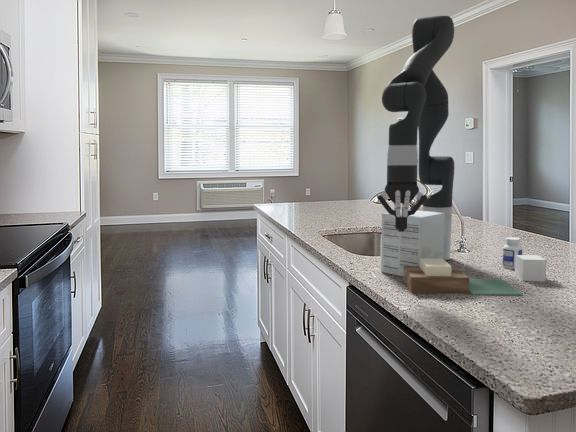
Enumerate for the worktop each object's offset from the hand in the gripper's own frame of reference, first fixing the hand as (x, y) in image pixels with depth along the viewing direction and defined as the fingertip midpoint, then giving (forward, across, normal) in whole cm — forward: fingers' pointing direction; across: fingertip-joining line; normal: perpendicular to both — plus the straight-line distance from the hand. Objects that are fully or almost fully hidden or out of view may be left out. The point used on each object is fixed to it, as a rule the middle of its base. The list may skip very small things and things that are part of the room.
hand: (400, 231), depth 127 cm
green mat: (+15, -22, 0) cm, 27 cm away
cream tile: (+11, -9, 0) cm, 14 cm away
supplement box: (+15, -6, -16) cm, 23 cm away
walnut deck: (+15, -9, 0) cm, 17 cm away
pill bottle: (+15, -37, -23) cm, 46 cm away
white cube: (+15, -37, -10) cm, 41 cm away
